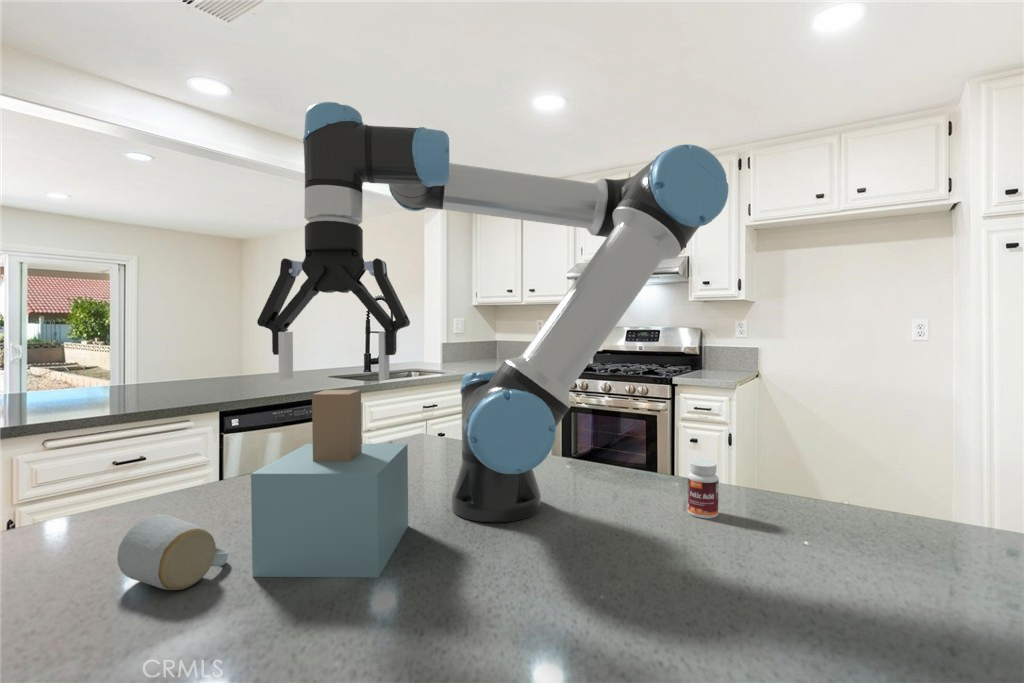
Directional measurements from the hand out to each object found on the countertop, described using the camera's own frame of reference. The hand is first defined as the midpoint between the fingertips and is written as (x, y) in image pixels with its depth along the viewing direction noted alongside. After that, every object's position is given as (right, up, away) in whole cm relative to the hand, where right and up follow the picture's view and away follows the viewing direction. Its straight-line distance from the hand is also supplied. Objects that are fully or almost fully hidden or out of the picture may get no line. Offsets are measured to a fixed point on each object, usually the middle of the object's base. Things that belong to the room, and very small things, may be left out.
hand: (335, 379), depth 71 cm
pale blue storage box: (0, -24, +1) cm, 24 cm away
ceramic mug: (-17, -24, -7) cm, 30 cm away
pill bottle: (+56, -23, +14) cm, 62 cm away
